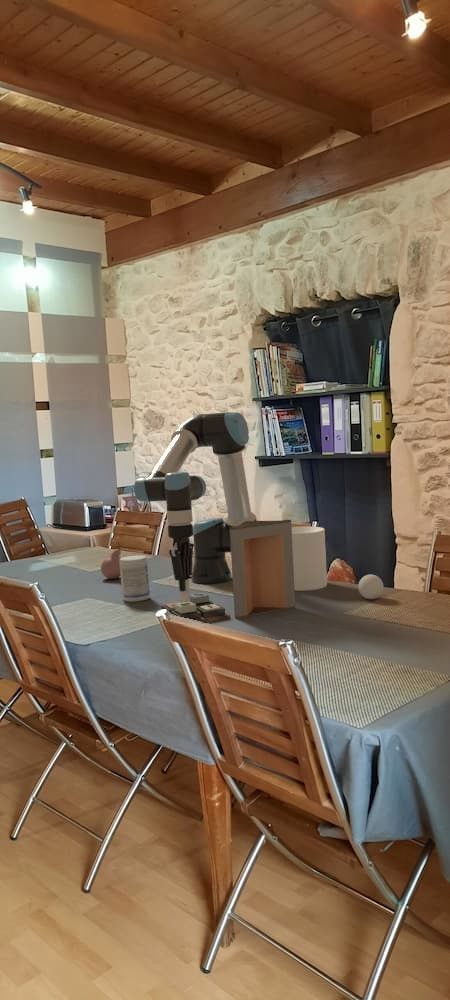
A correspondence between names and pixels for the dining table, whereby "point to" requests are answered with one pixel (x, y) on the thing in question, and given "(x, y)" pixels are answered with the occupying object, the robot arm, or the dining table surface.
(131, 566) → the supplement tub
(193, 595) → the key slate
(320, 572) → the canister
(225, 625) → the dining table surface
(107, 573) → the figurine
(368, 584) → the ball
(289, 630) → the dining table surface
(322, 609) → the dining table surface
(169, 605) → the key terracotta
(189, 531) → the robot arm
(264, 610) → the cabinet
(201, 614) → the keypad board
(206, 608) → the key cream
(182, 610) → the key sage
